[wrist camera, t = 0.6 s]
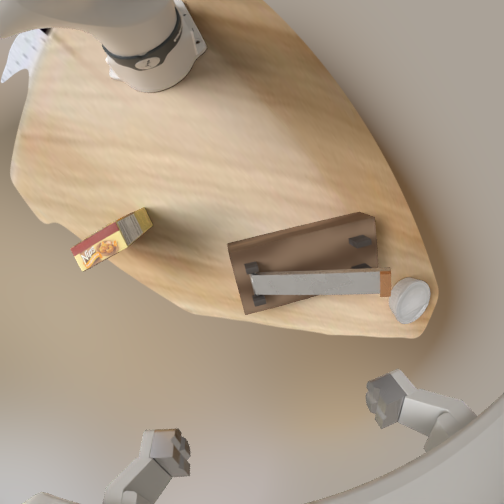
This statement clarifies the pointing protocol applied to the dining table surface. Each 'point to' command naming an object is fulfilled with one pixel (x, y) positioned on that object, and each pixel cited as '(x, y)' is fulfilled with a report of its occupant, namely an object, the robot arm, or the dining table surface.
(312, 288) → the clamp bar
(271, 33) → the dining table surface
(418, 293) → the ramekin
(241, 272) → the base
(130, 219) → the candy box
